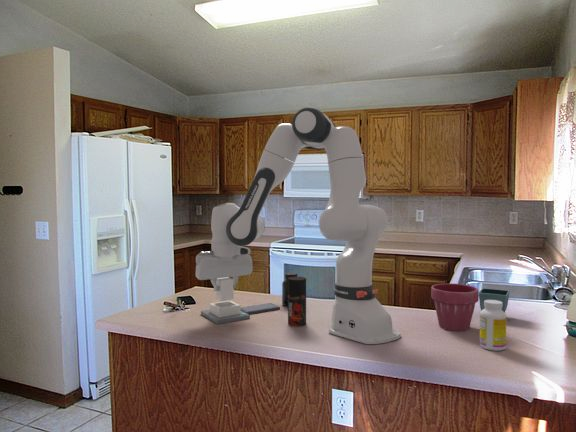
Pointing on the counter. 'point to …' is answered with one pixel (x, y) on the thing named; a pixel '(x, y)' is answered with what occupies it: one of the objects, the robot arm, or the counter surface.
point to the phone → (260, 308)
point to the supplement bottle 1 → (286, 287)
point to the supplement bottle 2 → (493, 326)
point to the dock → (225, 312)
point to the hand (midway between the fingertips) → (224, 289)
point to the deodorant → (297, 301)
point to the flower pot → (493, 297)
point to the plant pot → (454, 305)
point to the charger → (225, 289)
